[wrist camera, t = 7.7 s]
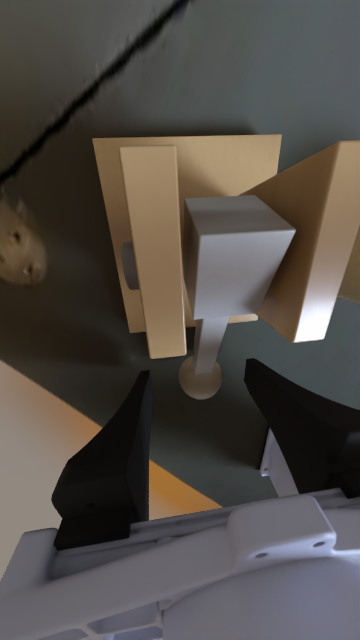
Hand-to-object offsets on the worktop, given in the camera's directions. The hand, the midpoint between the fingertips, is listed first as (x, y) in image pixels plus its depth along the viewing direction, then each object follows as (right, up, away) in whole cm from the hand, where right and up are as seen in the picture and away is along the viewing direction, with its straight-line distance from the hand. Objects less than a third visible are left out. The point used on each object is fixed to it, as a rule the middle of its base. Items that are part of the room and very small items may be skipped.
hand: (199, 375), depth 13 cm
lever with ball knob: (0, +4, -3) cm, 5 cm away
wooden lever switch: (-1, +9, -2) cm, 9 cm away
